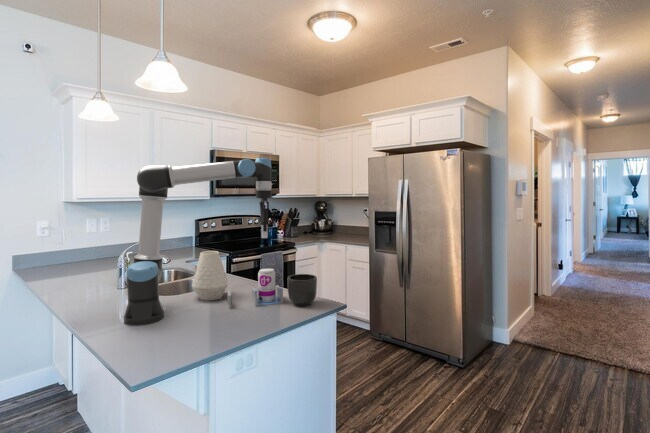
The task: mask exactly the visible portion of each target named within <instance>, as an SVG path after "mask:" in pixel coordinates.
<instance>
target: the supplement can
mask: <svg viewBox="0 0 650 433" xmlns="http://www.w3.org/2000/svg"><path fill="white" fill-rule="evenodd" d="M257 280H258V281H257V282H258V283H257V286H258V289H257V296H258V298H259V300H260V301H261V302H272V301H274V300H275V299H276V285H277V284H276V271H275V269H274V268H260V269H259V271H258V273H257Z"/></svg>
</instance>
